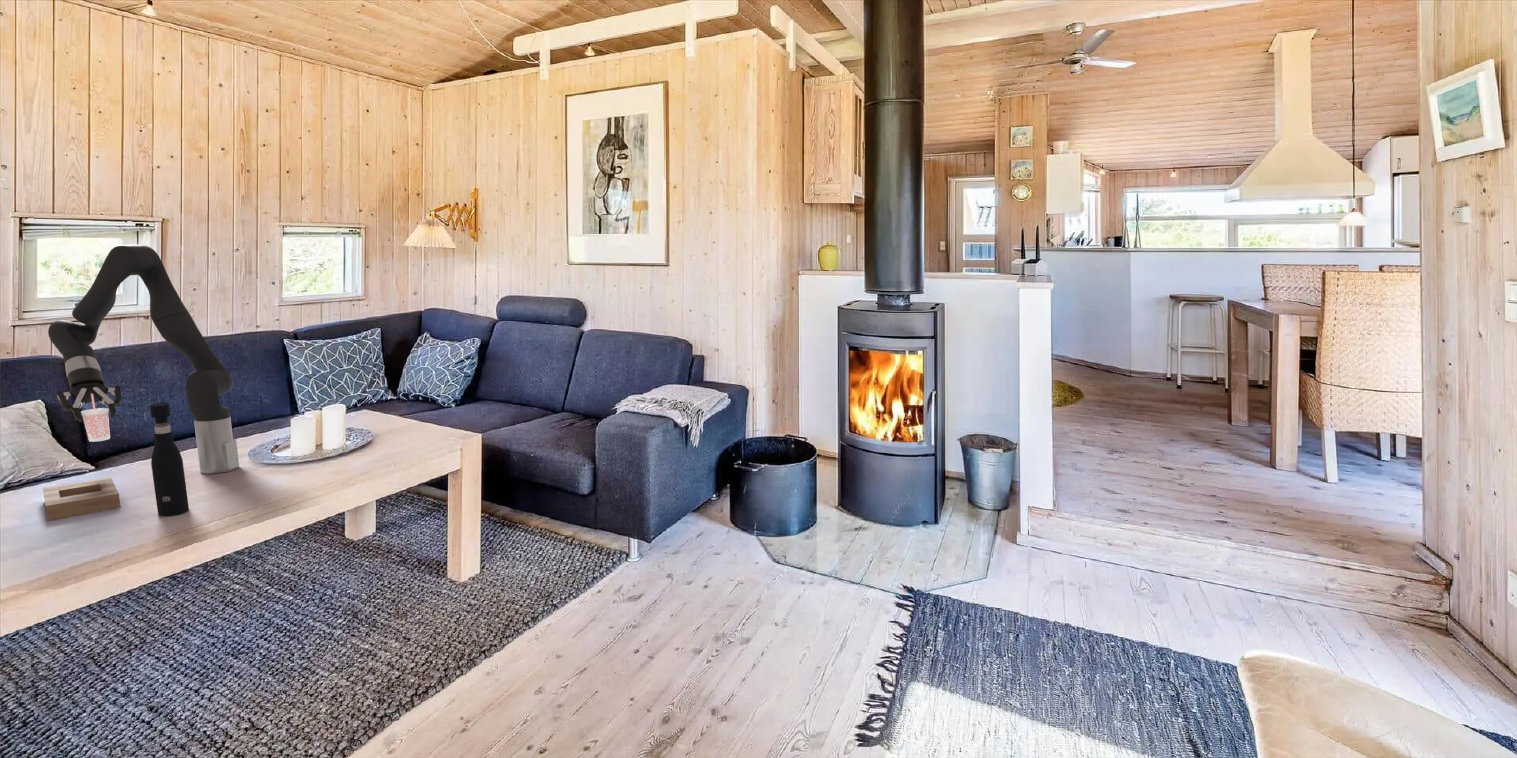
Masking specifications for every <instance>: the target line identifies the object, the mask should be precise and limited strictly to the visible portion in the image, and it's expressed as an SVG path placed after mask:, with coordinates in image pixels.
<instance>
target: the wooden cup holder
mask: <svg viewBox="0 0 1517 758" xmlns="http://www.w3.org/2000/svg"><path fill="white" fill-rule="evenodd" d="M42 491H43V492H42V493H43V499H44V504H45V510H46V516H47V521H52V520H58V519H63V518H68V517H74V516H80V515H85V514H91V513H97V512H101V511H108V510H114V509H118V508H121V506H122V505H121V500H120V494H119V491H118V489H117V487H116V484H115V482H114V480H113V478H112V477H111V476H109V477H104V478H97V479H91V480H86V481H78V482H73V483H65V484H61V485H60V484H59V485H54V486H48V487H47V486H46V487H42Z"/></svg>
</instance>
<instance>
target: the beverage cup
mask: <svg viewBox="0 0 1517 758" xmlns="http://www.w3.org/2000/svg"><path fill="white" fill-rule="evenodd" d="M91 398H92V402H91V404H92V408H90V409H85V410H80V411H81V414H82V418H83V424H84V428H85V430H86V435H87V439H88V441H89V442H92V443H94V442H103V441H107V440H110V439H111V433H110V422H109V420H110V419H109V418H110V416H109V409H108V407H101V408H100V407H98V408H96V405H95V403H96V402H94V397H93V394H91Z"/></svg>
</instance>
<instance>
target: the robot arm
mask: <svg viewBox="0 0 1517 758" xmlns="http://www.w3.org/2000/svg"><path fill="white" fill-rule="evenodd" d="M130 276H139V277H140V278H141V280H142V282H143V283H144V286H145V287H146V288H147V290H148V294H149V314H150V317H151V321H152V322H153V325H154V326H155V327H156V329H157V331H158V333H159V334H160V335H161V337H162V338H163V339H164V340H165V341H166V342H167V343H168V344H169V345H171V346H172V347H173V348H175V350H177V351H179V352H180V353H181V354H182V355H184V356H185V357H186V358H187V360H188V361H189V362H190V363H191V365H192V367H193V368H194V370H195V371H192V372H190V373H189V374H188V376H187V377H186V378H185V382H184V384H185V385H184V388H185V394H186V399H187V400H186V401H187V405H188V410H189V412H190V413H191V415H192V417H193V423H194V424H193V425H194V430H195V433H194V434H195V440H196V448H197V457H198V463H199V464H198V466H199V471H200V473H201V474H208V475H210V474H218V473H225V472H226V473H229V472H231V471H233V470H235V469H236V468H238V467H240V462H239V452H238V446H237V444H238V443H237V438H233V437H234V436H233V428H232V427H233V426H232V419H231V412H230V408H229V407H226V406H223V405H222V404H221V399H220V396H221V395H225V394H227V393H228V392H229V391H230V390H231V389H232V385H233V382H232V381H233V380H232V377H231V375H230V373H229V371H228V370H227V368H225V366H224V365H223V363H222V362H221V361H220V359H219V358H218V357H217V356H216V354H215V353H214V352H213V350H212V349H211V347H210V346H209V344H208V342H207V341H206V340H205V337H204V336H203V334H202V333H201V331H200V329H199V327H198V326H197V324H196V322H195V321H194V319H193V317H192V315H191V313H190V312H189V311H188V309H187V307H186V306H185V305H184V302H183V300H182V299H181V298H180V295H179V293H178V292H177V290H176V289H175V287H174V285H173V283H172V280H171V279H170V277H169V275H168V272H167V271H166V268H165V266H164V263H163V262H162V260H161V257H160V255H159V254H158V253H157V251H156V250H154V249H153V248H152V247H151V246H148V245H145V244H120V245H116V246H114V247H113V248H111V250H109V252H108V254H107V256H105V258H104V261H103V263H102V265H101V268H100V269H99V271H98V273H97V275H96V277H95V279H94V281H93V283H92V285H91V286H90V288H89V289H88V291H87V292H86V293H85V295H84V296H83V297H82V298H81V299H80V301H78V303H77V304H76V306H75V307H74V308H73V309H72V312H71V314H72V317H73V318H74V319H75V320H76V321H78V322H75V321H71V320H63V319H59V320H54V321H53V322H52V323H51V324H50V325H49V327H48V330H47V334H48V338H49V339H50V341H51V343H52V345H54V347H55V348H56V349H57V351H58V352H59V353H60V354H61V355H62V358H63V361H64V366H65V368H64V369H65V373H66V375H65V376H66V378H67V381H68V384H69V388H70V389H69V391H65V392H63V391H61V390H59V391H57V392H56V394H57V395H56V396H57V400H58V402H59V404H60V406H61V408H62V411H63V412H65V413H67V412H72V413H73V416H74V420H75V421H78V422H79V423H82V422H83V423H84V420H83V416H82V414H81V411H82V410H81V408H82V407H83V405H84V404H90V403H92V398H91V394H93V397H94V402H95V403H101V404H102V405H105V407H106V408H108V409H109V412H108V415H109V418H110V419H114V417H115V416H117V409H116V407H120V406H121V405H122V393H121V391H122V390H121V386H120V385H115V386H114V387H109V386H107V385H106V384H105V380H104V377H103V374H102V370H101V367H100V364H99V362H98V360H97V357H96V354H95V350H94V348H93V347H92V346H91V345H92V344H93V343H94V342H95V341H96V339H97V337H98V336H97V335H98V331H99V329H100V326H101V323H102V321H103V320H105V318H106V316H108V314H109V313H110V312H111V311H112V309H113V308H114V306H115V304H116V299H117V298H116V297H117V291H118V288H119V287H120V285H121V284H122V283H123V282H124V281H125V280H126V279H128V278H129V277H130ZM79 322H80V323H79ZM108 393H110V394H112V396H114V398H115V399H114V400H113V399H112V398H110V397H109V395H108ZM69 397H71V398H73V399H75V400H74V403H73V405H72V404H69V401H68V400H69Z"/></svg>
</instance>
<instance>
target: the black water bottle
mask: <svg viewBox="0 0 1517 758" xmlns="http://www.w3.org/2000/svg"><path fill="white" fill-rule="evenodd" d="M149 409H150V417H151V418H153V419H154V422H155V426H154V432H155V433H153V438H154V447H153V448H152V449H153V450H152V453H151V458H150V459H151V460H150V466H151V472H152V480H153V487H154V488H153V489H154V494H155V502H156V509H157V515H158V516H159V517H163V518H164V517H166V518H167V517H175V516H178V515H183V514H185V513H187V512H189V511H190V507H189V506H190V505H189V498H188V491H187V490H188V489H187V483H186V475H185V468H184V460H183V457H182V454H181V452H180V450H179V448H178V447H177V445H176V443H175V441H174V433H173V431H171V430H172V427H171V425H170V424H169V421H168V420H169V419H168V417H170V416H171V409H170V403H169V402H160V403H159V402H158V403H153V404H150V405H149Z"/></svg>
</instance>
